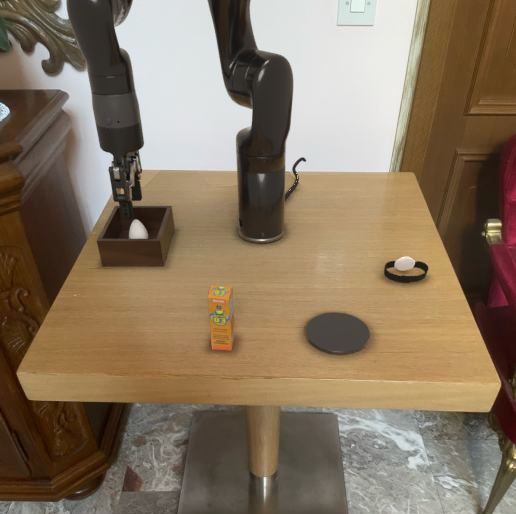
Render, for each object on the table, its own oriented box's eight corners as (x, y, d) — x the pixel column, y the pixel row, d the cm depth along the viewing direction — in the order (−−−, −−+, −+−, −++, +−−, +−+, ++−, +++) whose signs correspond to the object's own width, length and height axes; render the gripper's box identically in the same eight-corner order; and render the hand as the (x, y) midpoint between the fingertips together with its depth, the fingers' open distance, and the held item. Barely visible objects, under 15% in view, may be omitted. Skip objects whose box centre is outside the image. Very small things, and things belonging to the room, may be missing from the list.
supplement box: (210, 351, 79) (205, 296, 73) (215, 336, 82) (210, 282, 75) (232, 352, 79) (229, 297, 72) (236, 338, 82) (233, 284, 75)
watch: (423, 270, 96) (427, 253, 94) (428, 284, 93) (433, 266, 90) (381, 270, 96) (383, 252, 94) (385, 284, 93) (388, 266, 91)
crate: (119, 229, 110) (114, 205, 106) (174, 229, 109) (171, 205, 106) (102, 266, 98) (96, 240, 95) (163, 266, 98) (160, 240, 95)
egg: (129, 250, 102) (124, 224, 99) (131, 241, 105) (127, 215, 102) (148, 249, 102) (144, 224, 99) (150, 240, 105) (146, 215, 102)
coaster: (314, 310, 87) (314, 307, 87) (374, 321, 84) (374, 318, 84) (297, 347, 80) (297, 344, 79) (363, 360, 77) (363, 357, 77)
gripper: (132, 132, 82) (146, 226, 93) (147, 107, 93) (158, 194, 104) (84, 132, 82) (104, 227, 93) (105, 107, 93) (120, 194, 104)
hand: (132, 209), depth 98 cm, fingers open, 8 cm apart
